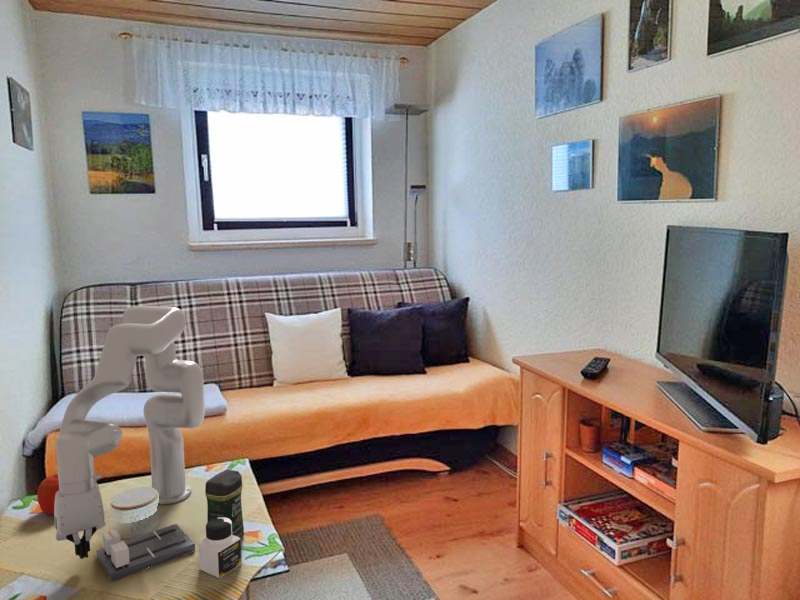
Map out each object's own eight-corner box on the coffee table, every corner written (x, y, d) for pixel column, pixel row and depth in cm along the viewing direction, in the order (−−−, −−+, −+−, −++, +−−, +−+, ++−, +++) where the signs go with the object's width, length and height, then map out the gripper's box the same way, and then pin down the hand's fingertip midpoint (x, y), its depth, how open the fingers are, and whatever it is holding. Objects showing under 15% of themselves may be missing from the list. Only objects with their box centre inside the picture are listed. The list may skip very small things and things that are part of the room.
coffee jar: (229, 554, 152) (225, 484, 149) (202, 548, 154) (198, 480, 151) (249, 534, 161) (247, 469, 158) (224, 529, 163) (221, 465, 160)
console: (96, 557, 150) (95, 549, 150) (176, 530, 163) (175, 523, 162) (111, 581, 140) (110, 573, 140) (195, 550, 153) (194, 543, 153)
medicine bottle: (219, 579, 141) (217, 532, 139) (199, 570, 145) (196, 523, 143) (242, 564, 147) (240, 518, 145) (222, 555, 151) (220, 511, 149)
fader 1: (103, 548, 150) (102, 533, 149) (116, 544, 152) (115, 529, 151) (107, 555, 147) (106, 539, 146) (120, 550, 149) (119, 535, 148)
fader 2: (111, 560, 144) (110, 544, 144) (124, 556, 146) (123, 540, 146) (116, 568, 141) (115, 552, 141) (129, 563, 143) (128, 547, 143)
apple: (65, 520, 168) (62, 481, 167) (30, 519, 169) (26, 481, 167) (85, 502, 178) (82, 466, 177) (51, 502, 179) (48, 465, 177)
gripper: (106, 470, 150) (111, 538, 152) (38, 487, 140) (44, 560, 143) (115, 480, 144) (120, 551, 147) (44, 499, 135) (51, 574, 137)
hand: (83, 555), depth 145 cm, fingers closed
